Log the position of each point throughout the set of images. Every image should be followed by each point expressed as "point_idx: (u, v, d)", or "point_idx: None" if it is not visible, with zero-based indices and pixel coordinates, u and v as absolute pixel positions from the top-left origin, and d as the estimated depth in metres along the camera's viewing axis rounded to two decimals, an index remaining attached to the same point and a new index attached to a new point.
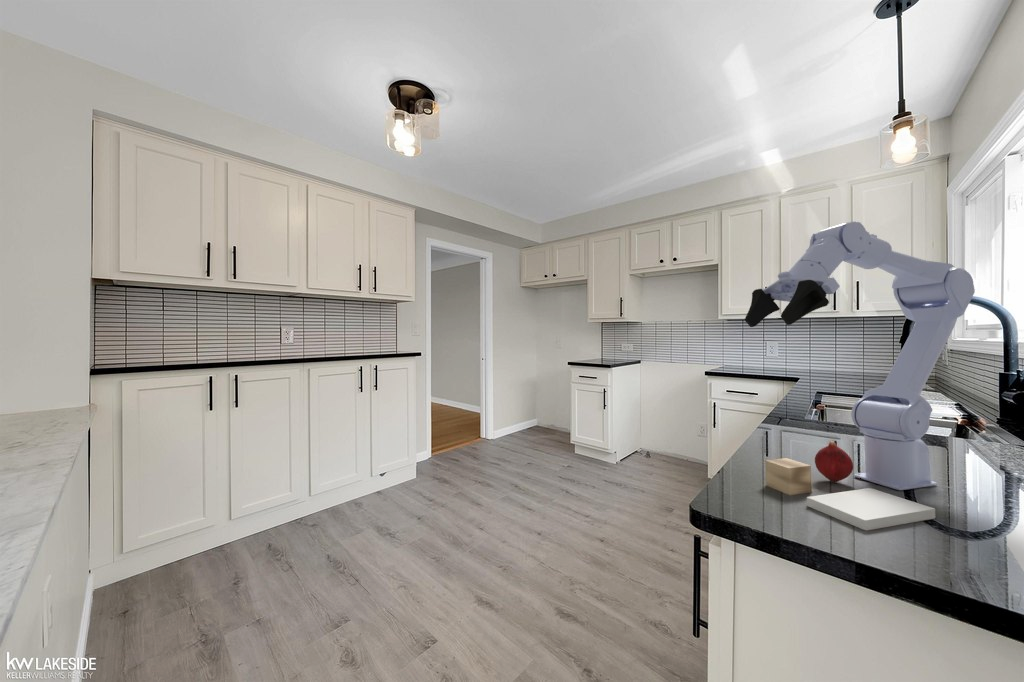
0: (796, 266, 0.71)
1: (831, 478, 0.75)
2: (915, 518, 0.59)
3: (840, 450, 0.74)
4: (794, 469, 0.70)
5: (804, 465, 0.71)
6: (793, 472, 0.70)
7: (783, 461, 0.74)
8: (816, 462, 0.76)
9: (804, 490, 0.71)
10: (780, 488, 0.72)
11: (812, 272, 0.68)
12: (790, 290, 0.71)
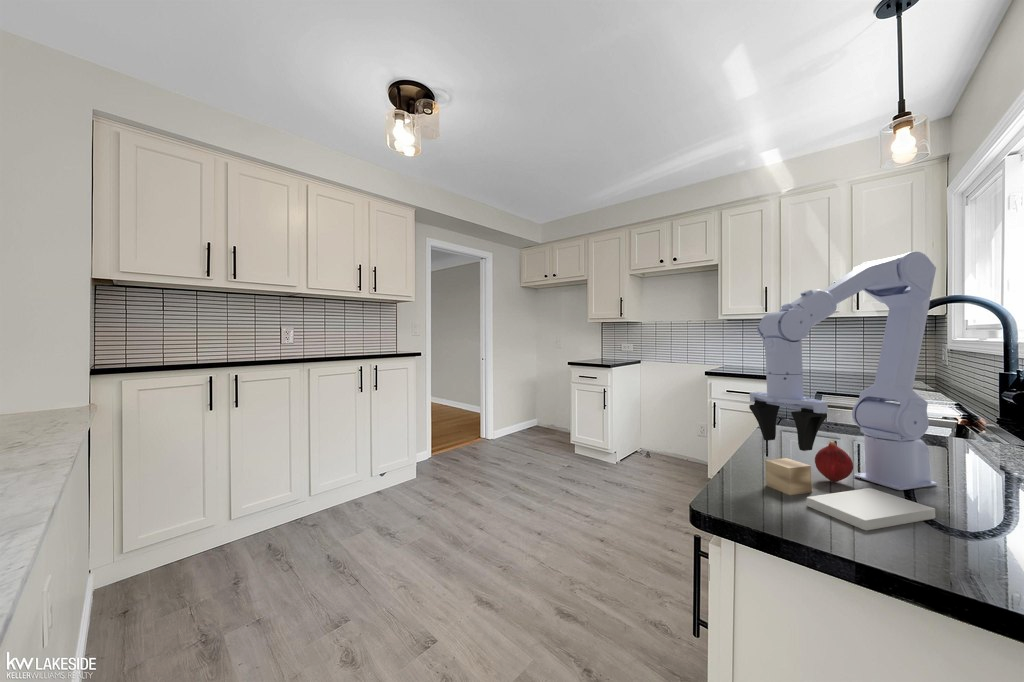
0: (772, 382, 0.73)
1: (831, 478, 0.75)
2: (915, 518, 0.59)
3: (840, 450, 0.74)
4: (794, 469, 0.70)
5: (804, 465, 0.71)
6: (793, 472, 0.70)
7: (783, 461, 0.74)
8: (816, 462, 0.76)
9: (804, 490, 0.71)
10: (780, 488, 0.72)
11: (791, 386, 0.71)
12: None
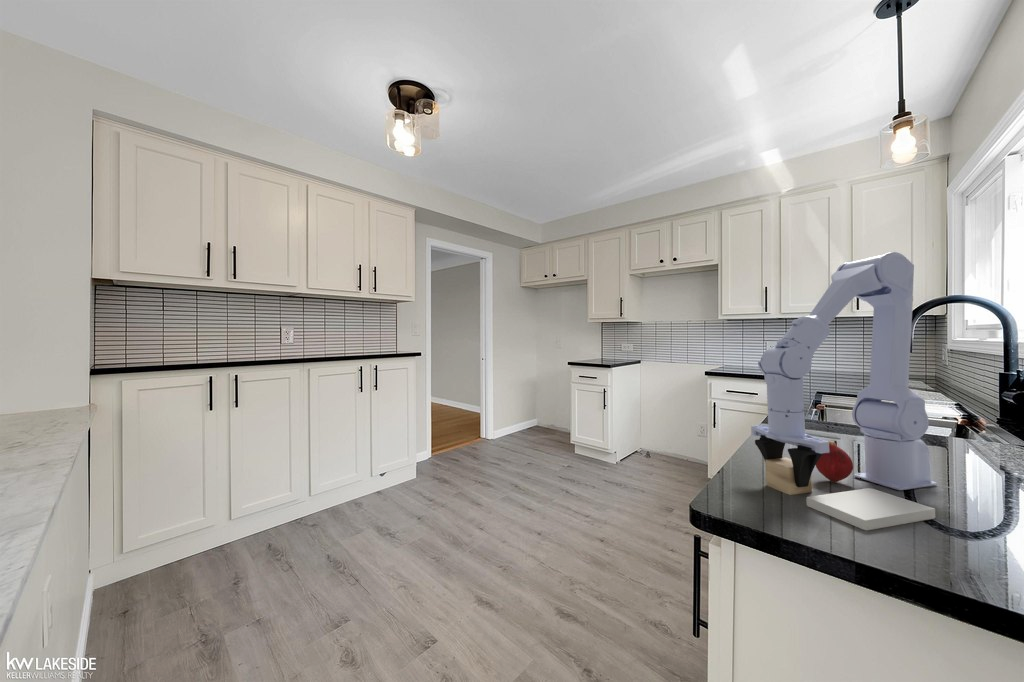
0: (773, 419, 0.73)
1: (831, 478, 0.75)
2: (915, 518, 0.59)
3: (840, 450, 0.74)
4: None
5: None
6: (793, 471, 0.70)
7: (783, 460, 0.74)
8: None
9: (804, 490, 0.71)
10: (780, 487, 0.72)
11: (792, 424, 0.71)
12: None
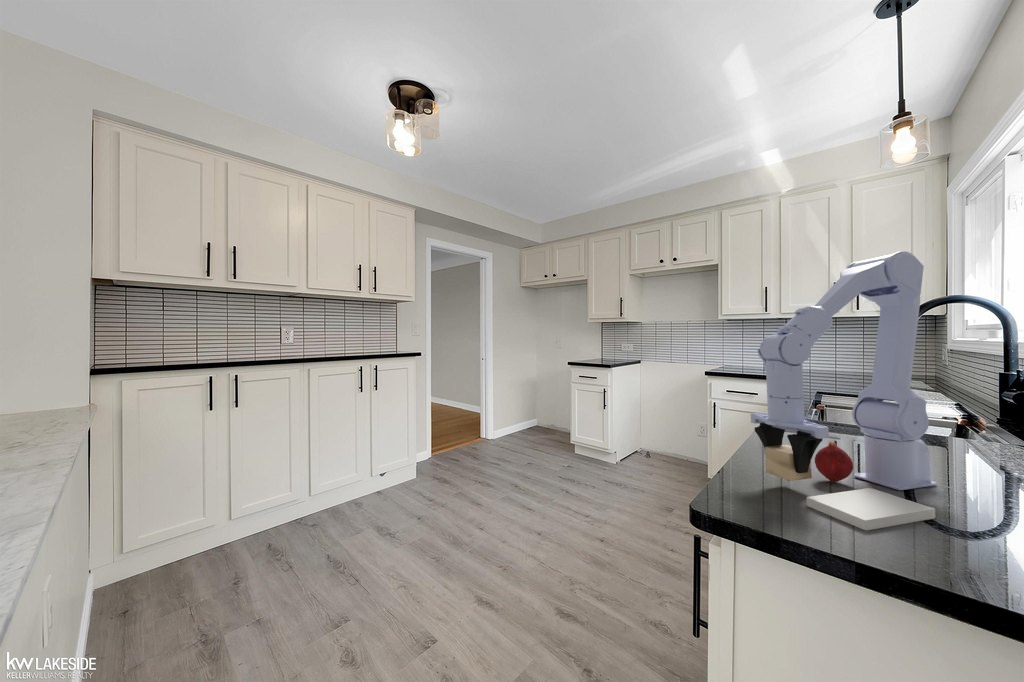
0: (773, 405, 0.73)
1: (831, 478, 0.75)
2: (915, 518, 0.59)
3: (840, 450, 0.74)
4: None
5: None
6: (793, 457, 0.70)
7: (783, 447, 0.74)
8: (816, 462, 0.76)
9: (804, 476, 0.71)
10: (780, 474, 0.72)
11: (792, 410, 0.71)
12: None
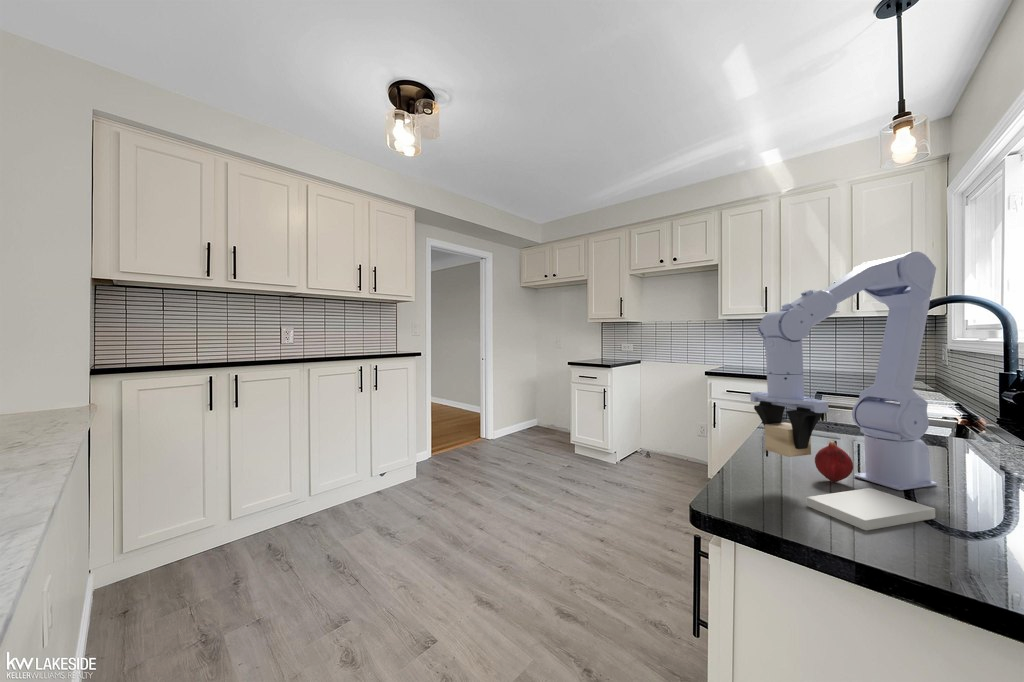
0: (772, 382, 0.73)
1: (831, 478, 0.75)
2: (915, 518, 0.59)
3: (840, 450, 0.74)
4: None
5: None
6: None
7: (782, 425, 0.74)
8: (816, 462, 0.76)
9: (803, 452, 0.71)
10: (779, 450, 0.72)
11: (791, 386, 0.70)
12: None
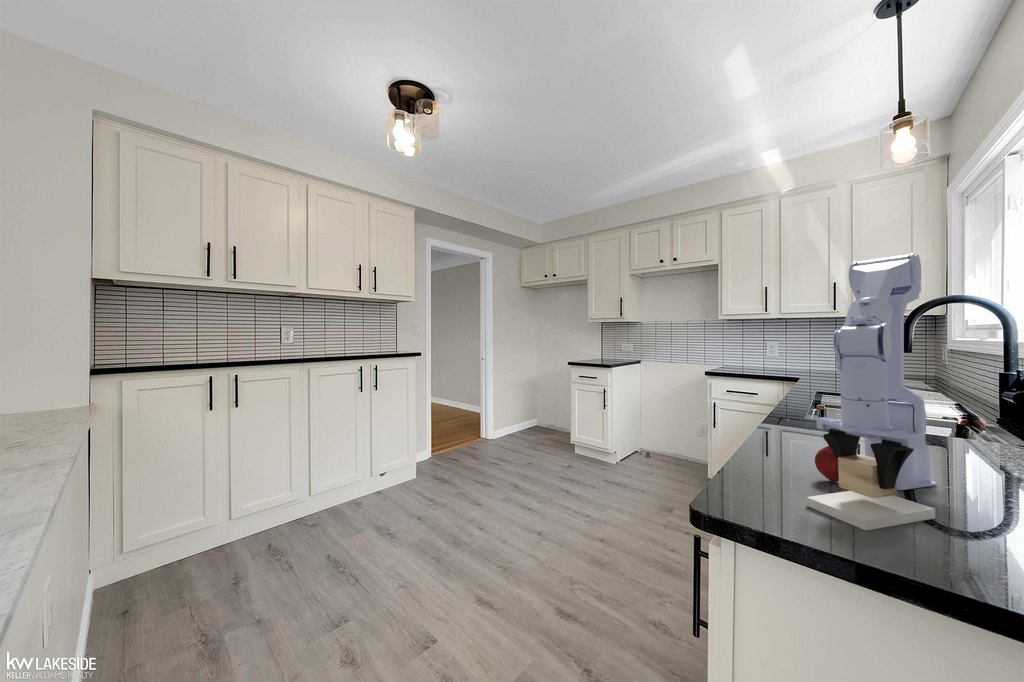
0: (850, 409, 0.62)
1: (831, 478, 0.75)
2: (915, 518, 0.59)
3: None
4: None
5: None
6: (877, 470, 0.60)
7: (860, 458, 0.64)
8: (816, 462, 0.76)
9: (889, 492, 0.60)
10: (859, 489, 0.61)
11: (875, 415, 0.60)
12: None
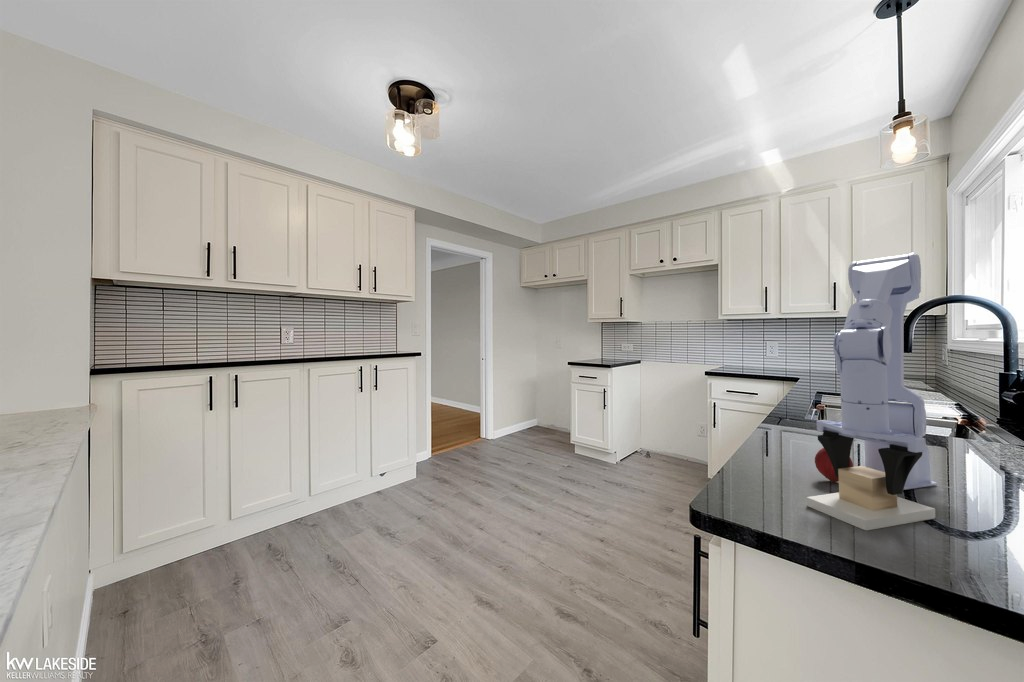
0: (850, 412, 0.62)
1: (831, 478, 0.75)
2: (915, 518, 0.59)
3: None
4: (878, 480, 0.60)
5: None
6: (877, 483, 0.60)
7: (860, 470, 0.64)
8: (816, 462, 0.76)
9: (889, 504, 0.60)
10: (859, 502, 0.61)
11: (875, 418, 0.60)
12: None
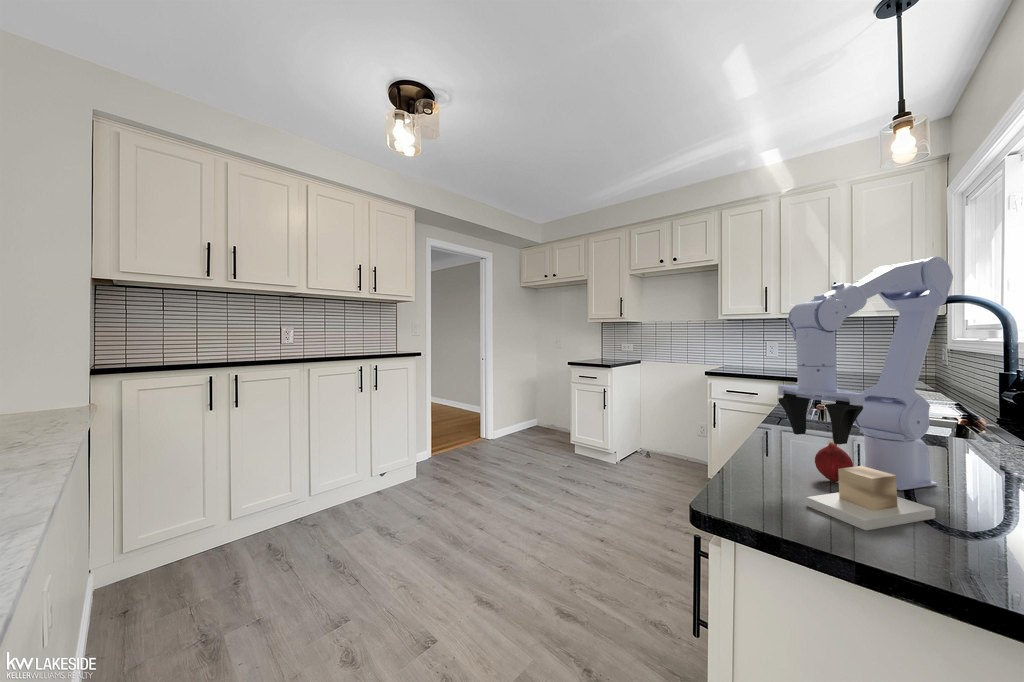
0: (804, 374, 0.71)
1: (831, 478, 0.75)
2: (915, 518, 0.59)
3: (840, 450, 0.74)
4: (878, 480, 0.60)
5: (888, 475, 0.61)
6: (877, 483, 0.60)
7: (860, 470, 0.64)
8: (816, 462, 0.76)
9: (889, 504, 0.60)
10: (859, 502, 0.61)
11: (824, 378, 0.69)
12: None
